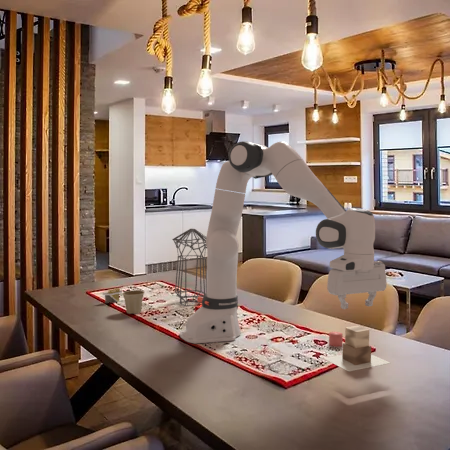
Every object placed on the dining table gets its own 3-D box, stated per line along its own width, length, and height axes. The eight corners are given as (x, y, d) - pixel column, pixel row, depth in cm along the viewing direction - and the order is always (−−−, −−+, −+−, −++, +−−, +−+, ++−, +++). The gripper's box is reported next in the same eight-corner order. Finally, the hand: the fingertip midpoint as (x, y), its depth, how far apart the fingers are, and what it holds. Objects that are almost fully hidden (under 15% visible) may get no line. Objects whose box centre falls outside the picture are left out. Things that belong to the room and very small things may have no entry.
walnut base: (355, 365, 147) (355, 349, 146) (342, 358, 152) (342, 343, 152) (370, 362, 149) (371, 346, 149) (357, 356, 155) (357, 340, 154)
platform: (136, 301, 233) (136, 287, 232) (105, 308, 219) (105, 294, 219) (120, 297, 241) (120, 284, 240) (89, 304, 227) (89, 290, 226)
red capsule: (334, 350, 163) (334, 336, 163) (326, 347, 167) (326, 332, 167) (345, 349, 165) (345, 334, 165) (336, 345, 169) (336, 330, 168)
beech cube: (345, 343, 151) (345, 327, 151) (357, 341, 154) (358, 325, 153) (356, 348, 147) (356, 331, 146) (368, 345, 149) (369, 329, 149)
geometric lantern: (170, 301, 232) (171, 227, 230) (201, 299, 238) (202, 227, 236) (179, 308, 217) (180, 229, 215) (213, 306, 223) (214, 229, 221)
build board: (348, 375, 142) (348, 371, 142) (323, 362, 153) (323, 358, 153) (390, 366, 149) (390, 362, 149) (363, 354, 160) (363, 350, 160)
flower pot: (118, 313, 209) (117, 293, 208) (130, 308, 218) (130, 289, 217) (137, 316, 206) (136, 295, 205) (148, 310, 214) (148, 291, 214)
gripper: (377, 259, 155) (375, 301, 156) (325, 262, 146) (323, 307, 148) (392, 261, 150) (390, 306, 151) (338, 265, 141) (336, 312, 142)
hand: (356, 307), depth 149 cm, fingers open, 8 cm apart
